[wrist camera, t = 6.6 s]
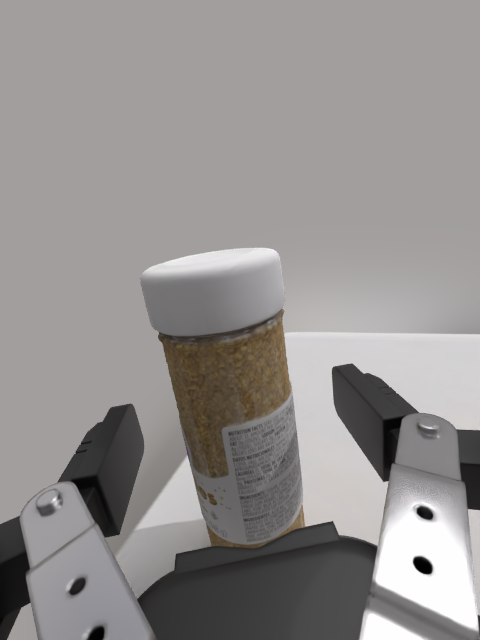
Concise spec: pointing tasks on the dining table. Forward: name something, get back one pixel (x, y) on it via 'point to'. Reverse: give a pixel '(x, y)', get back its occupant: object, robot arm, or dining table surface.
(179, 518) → the dining table surface
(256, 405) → the sprinkles bottle
